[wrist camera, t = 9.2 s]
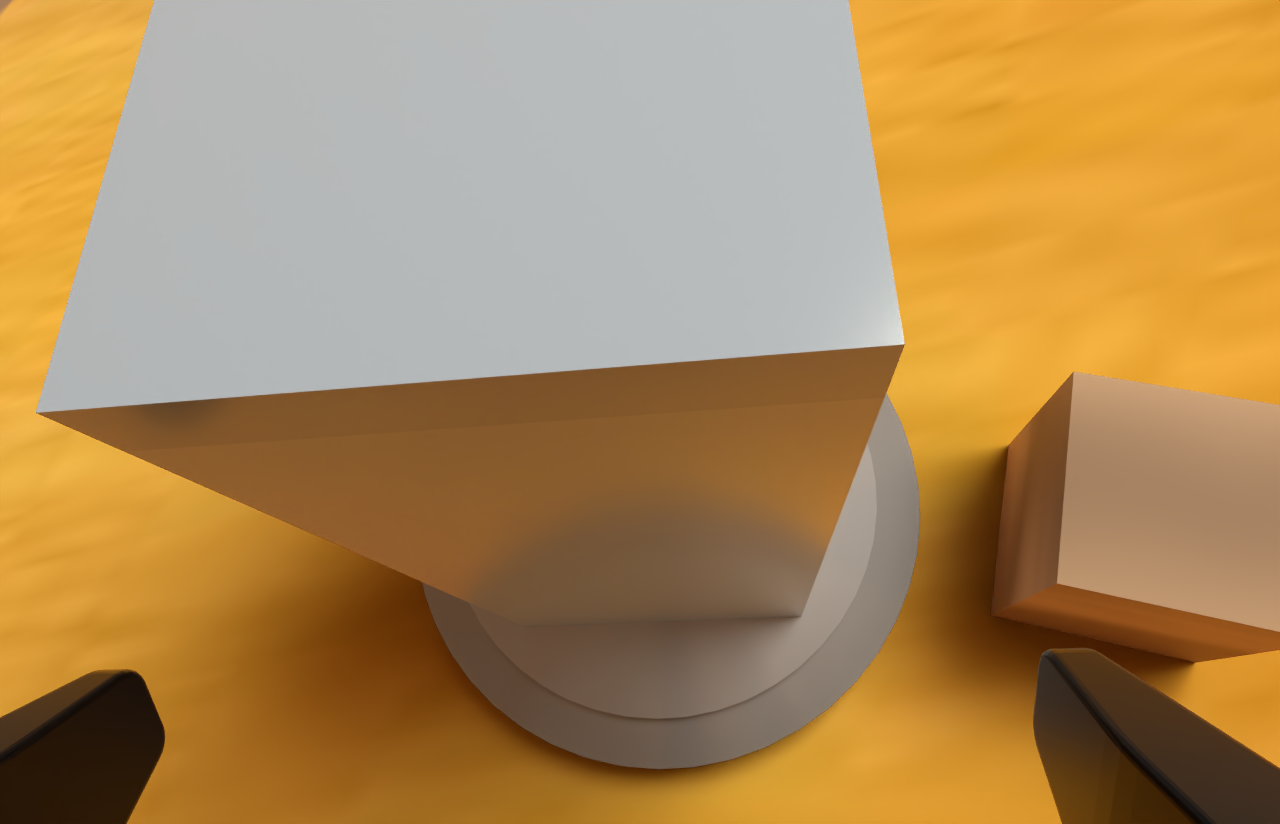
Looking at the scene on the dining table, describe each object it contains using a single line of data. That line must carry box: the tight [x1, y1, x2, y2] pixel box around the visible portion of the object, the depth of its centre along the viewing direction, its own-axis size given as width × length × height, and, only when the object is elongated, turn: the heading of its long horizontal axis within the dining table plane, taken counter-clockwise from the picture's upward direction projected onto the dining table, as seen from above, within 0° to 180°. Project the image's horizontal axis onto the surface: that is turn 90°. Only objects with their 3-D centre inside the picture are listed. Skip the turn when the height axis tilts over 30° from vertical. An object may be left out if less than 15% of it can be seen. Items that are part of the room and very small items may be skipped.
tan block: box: [991, 372, 1280, 663], centre depth 15 cm, size 4×4×4 cm
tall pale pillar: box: [36, 0, 905, 627], centre depth 11 cm, size 6×6×12 cm
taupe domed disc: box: [422, 393, 920, 769], centre depth 18 cm, size 11×11×1 cm
